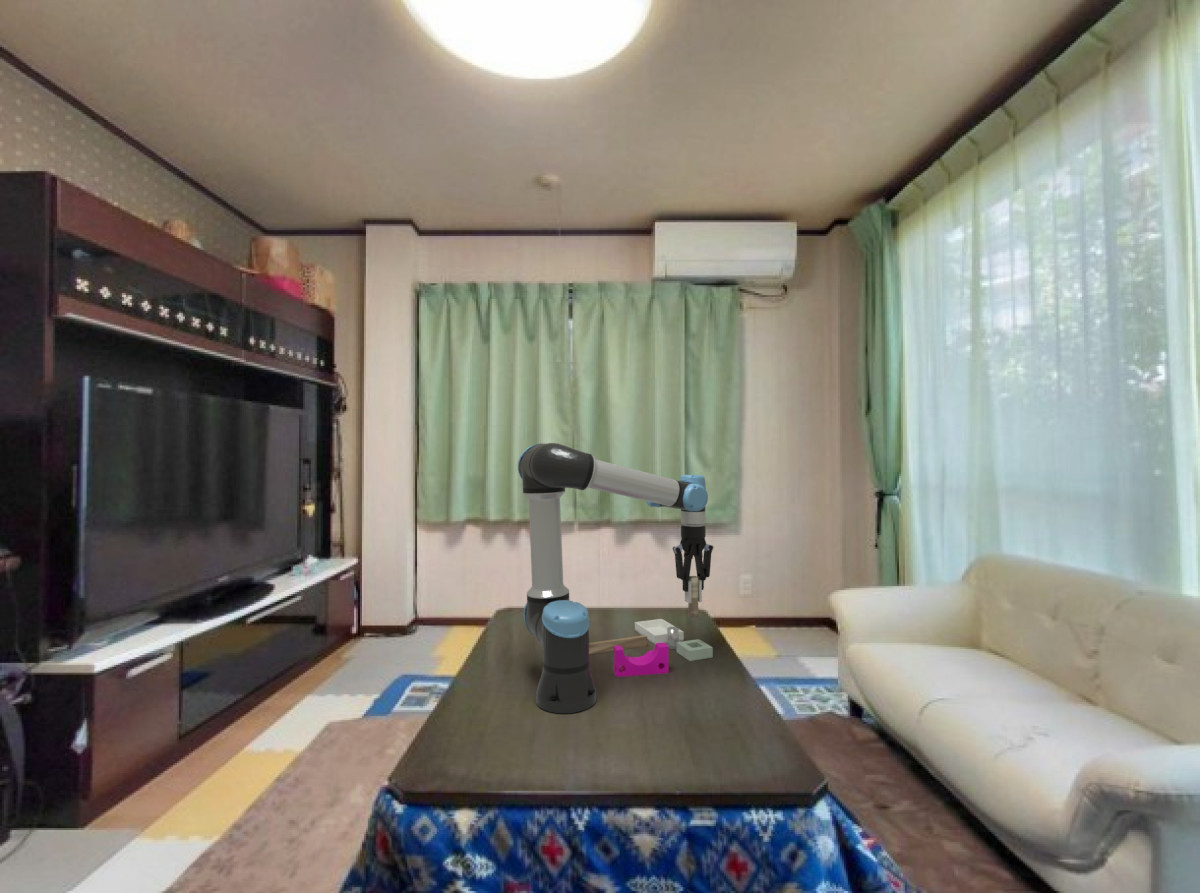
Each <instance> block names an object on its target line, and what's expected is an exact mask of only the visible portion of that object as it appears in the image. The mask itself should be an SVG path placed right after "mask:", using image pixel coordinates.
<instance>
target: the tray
mask: <svg viewBox="0 0 1200 893" xmlns="http://www.w3.org/2000/svg"><path fill="white" fill-rule="evenodd" d="M668 627H676V626H675V625H673V624H672V623H670V622H668V621H666V620H665V619H663V618H658V619H651V620H640V621H634V632H636V633H637V634H639V636H642V635H646V636H647V641H649V642H650V643H651V644H653V645H654V646H655V644H656V643H665V644H666V645H667V628H668ZM683 641H685V631H683V630H681V629H680V628H679V642H683Z"/></svg>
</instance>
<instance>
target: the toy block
mask: <svg viewBox="0 0 1200 893" xmlns="http://www.w3.org/2000/svg"><path fill="white" fill-rule="evenodd" d="M669 660H670V658H669V649H668V646H667V643H666V644H665V643H656V644H655V645H654V647H653V650H648V651H647V652H646V653H645V654H643V655H640V656H635V657H634V656H630V655H625V652H624V649H622V647H621V645H619V646H614V651H613V673H614V675H615V677H617V678H618V677H619V678H620V677H631V676H632V677H634V676H647V675H659V674H660V675H661V674H669V673H670V672H669V671H670V669H669Z"/></svg>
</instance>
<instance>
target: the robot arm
mask: <svg viewBox="0 0 1200 893" xmlns="http://www.w3.org/2000/svg"><path fill="white" fill-rule="evenodd" d="M517 470H518V474H519V476H520V478H521V480H522V482H521V483H522V494H523V496H524V497H526V498H527V499H528V513H529V514H528V515H529V518H528V519H529V541H530V542H529V543H530V564H531V567H530V568H531V570H530V571H531V587H530V588H529V589H528V591H527V592H526V603H525V606H524V609H523V621H524V624H525V627H526V628H527V630H528V632H529V633H530V635H532V636H533V637H534V638H535V639H536V640H537V641H538V642H539V643H540V644H541V645H542V672H541V676H540V677H539V681H538V684H537V687H536V688H537V689H536V692H535V704H536V705H537V706H538V707H539V708H540V709H542V710H543V711H546V712H550V713H556V714H573V713H580V712H582V711H586V710H589V709H590V708H591V707H593V706H594V705H595V703H596V702H597V688H596V685H595V682H594V679H593V675H592V673H591V671H590V654H589V643H590V623H591V622H590V618H589V610H588V608H587V607H586V606H585V605H584V604H582V603H580V602H577V601H573V600H570V590H569V588H568V587H566V585H565V584H564V569H563V567H564V566H563V547H562V546H563V542H562V540H563V538H562V518H561V514H562V513H561V512H562V511H561V497H562V496H563V495H564V494H565V493H566V489H567V488H568V489H573V490H574V489H575V490H580V491H586V490H587V489H588V488H589V489H593V490H597V491H602V492H605V493H611V494H615V495H618V496H623V497H628V498H631V499H637V500H640V501H645V503H646V504H647V505H648V506H649V507H651V508H652V507H653V508H663V507H664V508H669V509H676V510H677V509H678V510H680V523H681V524H682V525H681V526H680V538H681V539H680V542H679V544H678V545H677V546H672V551H673V553H674V560H675V561H674V562H675V573H676V574H675V575H676V578H677V579H679V580H682V591H683V592H684V601H685V602H686V603H691V581H689V577H690V576H691V575H690V574H691V568H692V567H691V566H692V560H693V559H694V563H695V569H696V576H697V577H698V603H702V601H703V599H702V598H703V595H702V594H703V593H702V592H703V591H704V589H705V587H704V586H705V581H706V580H707V578H710V575H711V564H712V563H711V561H712V553H713V550H714V545H712V544H708V543H707V542H706V535H707V534H706V533H707V531H706V528H707V527H706V526H705V524H706V523H707V522H706V521H707V520H706V518H707V517H706V515H707V514H706V505H707V504H708V501H709V500H708V499H709V494H708V491H707V488H706V487H707V486H706V477H705V476H704V475H702V474H682V475H681V476H680V480H676V479H673V478H670V477H665V476H661V475H658V474H654V473H651V472H646V471H643V470H638V469H635V468H631V467H626V466H623V465H619V464H614V463H611V462H607V461H603V460H599V459H596V458H595V456H594V455H593V453H592V454H591V453H589V452H584V451H581V450H579V449H575V448H573V447H570V446H567V445H563V444H561V443H556V442H549V443H542V442H541V443H535V444H533V445H532V444H531V446H529V447H527V448H526V449H524V450H523V451H522V452H521V454H520V455H519V458H518V462H517ZM682 552H683V553H682Z"/></svg>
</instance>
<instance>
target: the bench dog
mask: <svg viewBox="0 0 1200 893" xmlns="http://www.w3.org/2000/svg"><path fill="white" fill-rule="evenodd" d="M679 629H680V628H679V627H678V626H677V627H676V626H675V627H668V628H667V643H666V645H667V646H668V650H672V651H673V650H677V644H676V642H679Z"/></svg>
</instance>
